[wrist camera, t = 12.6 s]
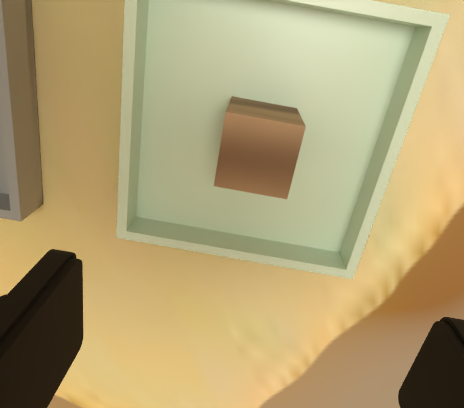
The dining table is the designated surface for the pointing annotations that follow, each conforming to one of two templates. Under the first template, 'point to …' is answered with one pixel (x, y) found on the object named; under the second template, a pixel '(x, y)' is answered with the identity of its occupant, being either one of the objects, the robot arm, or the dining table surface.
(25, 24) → the grey bin
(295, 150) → the walnut block
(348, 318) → the dining table surface
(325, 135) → the pale green bin
